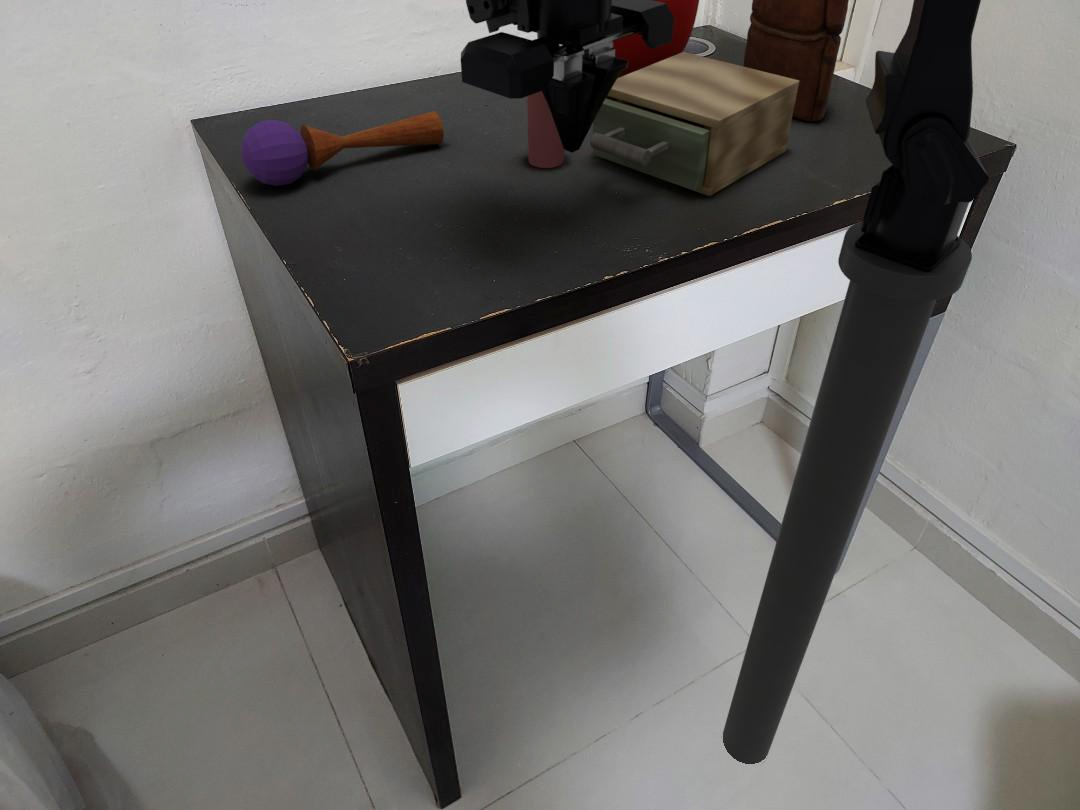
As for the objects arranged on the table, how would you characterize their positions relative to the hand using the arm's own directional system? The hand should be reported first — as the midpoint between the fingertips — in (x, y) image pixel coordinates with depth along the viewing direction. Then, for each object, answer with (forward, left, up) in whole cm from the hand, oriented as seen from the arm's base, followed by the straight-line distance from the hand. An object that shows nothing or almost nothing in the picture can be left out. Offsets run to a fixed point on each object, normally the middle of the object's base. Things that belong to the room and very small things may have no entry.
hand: (571, 150), depth 66 cm
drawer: (0, -14, -5) cm, 15 cm away
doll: (+10, -7, -6) cm, 14 cm away
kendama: (+24, +7, -6) cm, 26 cm away
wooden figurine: (0, -36, -6) cm, 37 cm away
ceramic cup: (+20, -37, -6) cm, 43 cm away
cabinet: (0, -18, -6) cm, 19 cm away
